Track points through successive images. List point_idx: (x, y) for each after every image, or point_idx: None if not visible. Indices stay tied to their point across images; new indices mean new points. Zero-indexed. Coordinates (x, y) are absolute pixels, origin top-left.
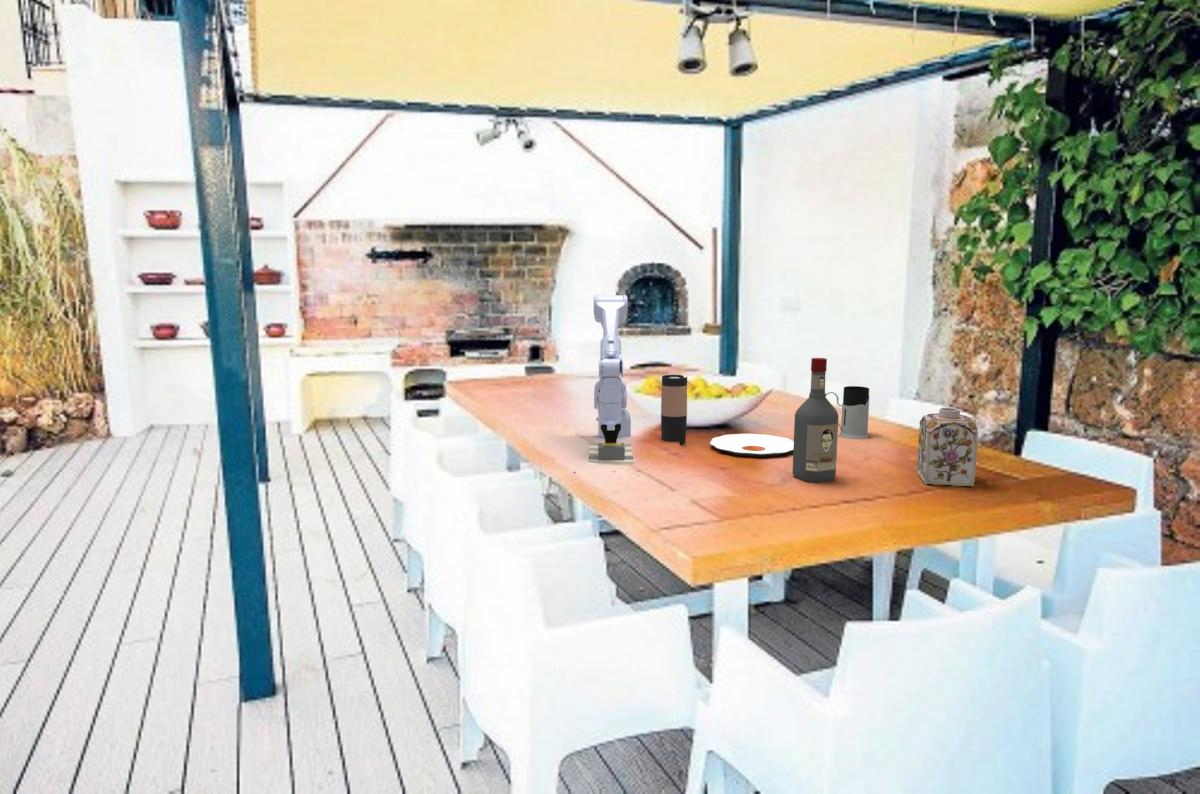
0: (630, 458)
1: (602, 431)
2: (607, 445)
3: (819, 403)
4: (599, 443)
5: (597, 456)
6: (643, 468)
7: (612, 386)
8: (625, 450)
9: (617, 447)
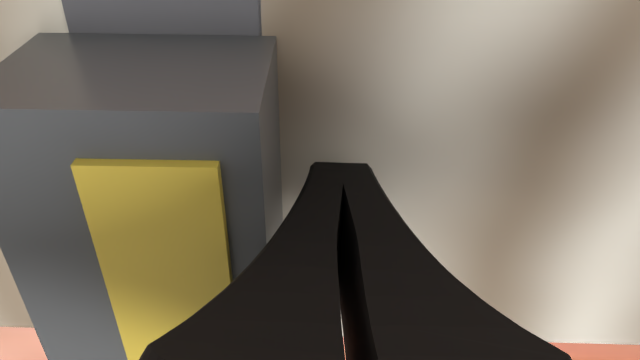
0: None
1: (167, 336)
2: (95, 234)
3: None
4: (238, 132)
5: (236, 26)
6: (35, 346)
7: None
8: (495, 298)
9: (36, 325)
